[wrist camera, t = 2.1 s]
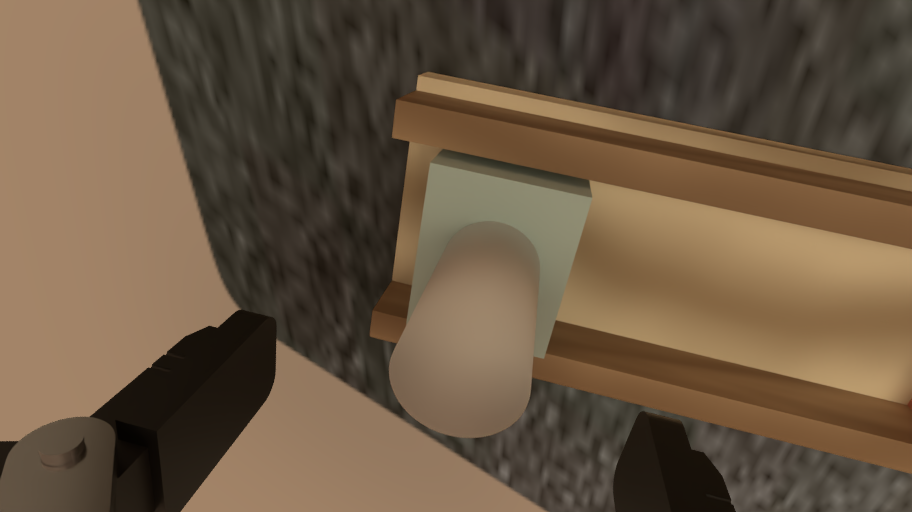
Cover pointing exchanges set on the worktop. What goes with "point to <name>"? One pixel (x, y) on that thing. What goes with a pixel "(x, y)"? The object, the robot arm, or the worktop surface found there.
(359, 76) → the worktop surface
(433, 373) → the slider
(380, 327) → the track
